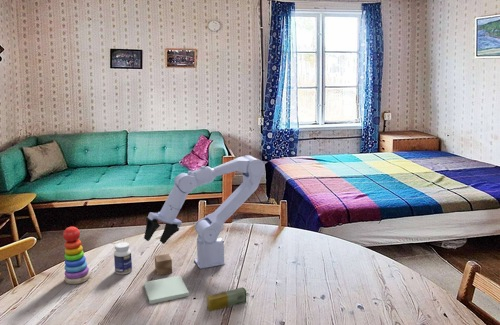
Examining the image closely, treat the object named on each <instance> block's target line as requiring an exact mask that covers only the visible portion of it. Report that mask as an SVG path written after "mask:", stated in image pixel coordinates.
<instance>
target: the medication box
mask: <svg viewBox="0 0 500 325" xmlns="http://www.w3.org/2000/svg"><path fill="white" fill-rule="evenodd" d="M246 303H247V289H246V288H244V287H238V288H235V289H230V290H227V291H221V292H219V293H214V294H210V295H207V296H206V308H207V310H208V311H209V312H213V311H217V310H222V309H226V308H229V307H234V306H237V305H241V304H246Z"/></svg>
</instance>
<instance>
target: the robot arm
mask: <svg viewBox="0 0 500 325" xmlns="http://www.w3.org/2000/svg"><path fill="white" fill-rule="evenodd" d="M234 172H239V173H242V183H240V185H239V186H238V187H236V189H235V190H234V191H233V192H232V193H231V194H230V195H229V196H228V197H227V198H226V199H225V200H224V201H223V202H222V203H221V204H220V205H219V206H218V207H217V208H216V209H215V211H213V212H212V213H209V214H206V215H205V216H204V217H203V218H200V219H198V220H197V221H196V223H195V226H194V230H195V233H196V234H197V238H196V252H197V254H196V255H197V257H196V258H194V262H195V264H196V265H197V266H198V268H199V269H201V270H202V269H207V268H211V267H217V266H223V265H226V262H225V244H224V240H223V239H222V237H219V235H220V234H221V232H222V231H223V228H224V223H225V222H226V221H228V219H229V218H230V217H231V216H232V215H234V213H235V212H236V211H237V210H238V209H239V208H240V207H241V206H242V205H244V203H245V202H246V201H247V200H248V199H249V198H250V197H251V196H252V195H253V194H254V193H255V192H256V191H257V190H258V188H259V186H260V182H261V179H262V177H263V176H264V175H265V174H266V171H265V164H264V162H263V161H262V160H261V159H259V158H256V157H254V156H253V155H251V154H245V155H243V156H238V157H236V158H235V159H231V160H229V161H227V162H223V163H222V164H219V165H217V166H214V167H210V166H205V165H201V166H200V168H197V169H195V170H188V171H187V173H186V172H181V173H179V174H178V175H177V176H175V177H174V185H173V187H172V189H171V191H170V192H169V194H168V196H167V198H166V200H165V202H164V204H163V205H162V207H161V209H160V211H158V212H151V211H150V212H149V213H148V216H147V217H146V218H145V221H146V224H145V225H146V226H145V232H144V237H143V239H144V240H145V241H147V242H150V240H151V238H152V237H153V235H154V234H155V232H156V231H157V230H158V229H159V228H160V227H161V224H160V223H159V222H161V223H165V226H164V230H163V232H162V234H161V236H160V238H159V242H160V243H161V244H163V245H164V244H166V242H167V241H168V240H170V238H171V237H172V236H173V235H175V234H176V233H177V232H179V231H180V226H181V225H182V223H183V222H182V220H180V219H178V218H177V216H178V214H179V213H180V210H182V207H183V205H184V203H185V201H186V199H187V197H188V195H189V193H191V192H194V190H195V188H197V187H201V186H203V185H204V186H205V185H206V184H209V183H212V182H214V181H215V178H217V177H220V176H223V175H227V174H230V173H234Z"/></svg>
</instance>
